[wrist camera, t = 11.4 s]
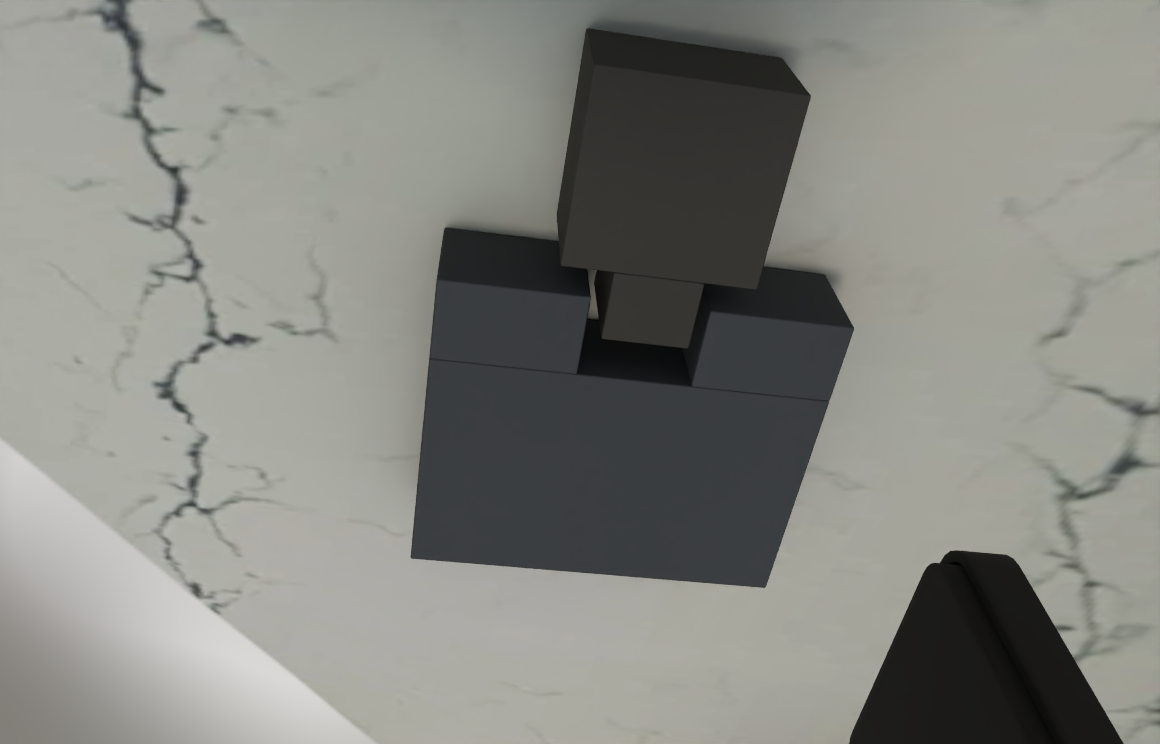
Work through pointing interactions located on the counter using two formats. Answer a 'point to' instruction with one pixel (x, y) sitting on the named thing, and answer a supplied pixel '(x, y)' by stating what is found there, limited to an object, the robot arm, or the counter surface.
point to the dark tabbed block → (673, 176)
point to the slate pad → (616, 421)
